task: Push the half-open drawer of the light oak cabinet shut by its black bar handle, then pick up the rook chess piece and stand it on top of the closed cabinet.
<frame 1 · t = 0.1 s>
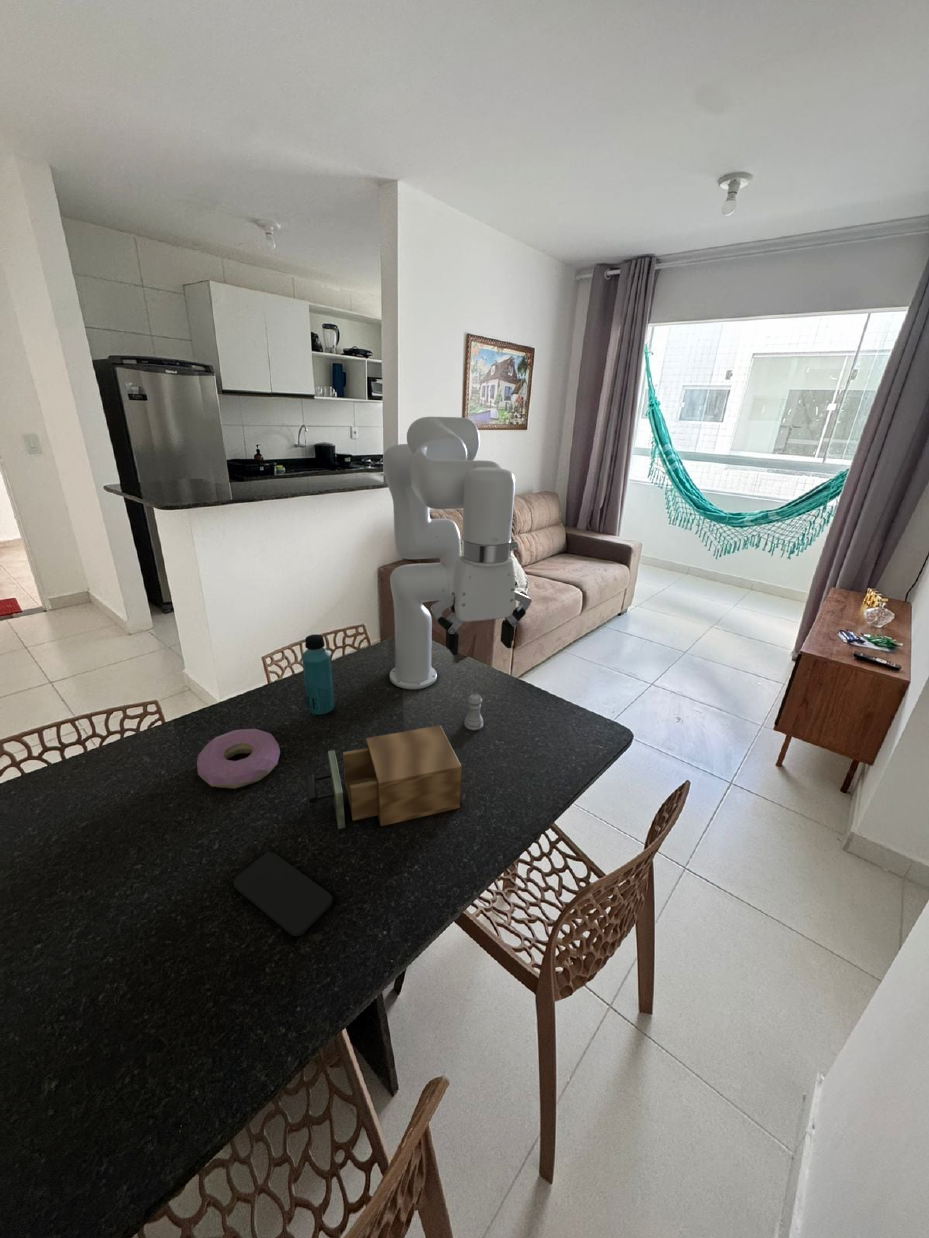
hand: (479, 648, 86), 31 cm above the table, tool pointing down, fingers open, 9 cm apart
cabinet: (412, 792, 98), on the table
drawer: (359, 783, 93), point 5 cm above the table, slide at 6.0 cm
beverage bottle: (321, 713, 121), on the table
rook chess piece: (473, 726, 119), on the table
donut: (241, 768, 103), on the table
phone: (282, 893, 77), on the table
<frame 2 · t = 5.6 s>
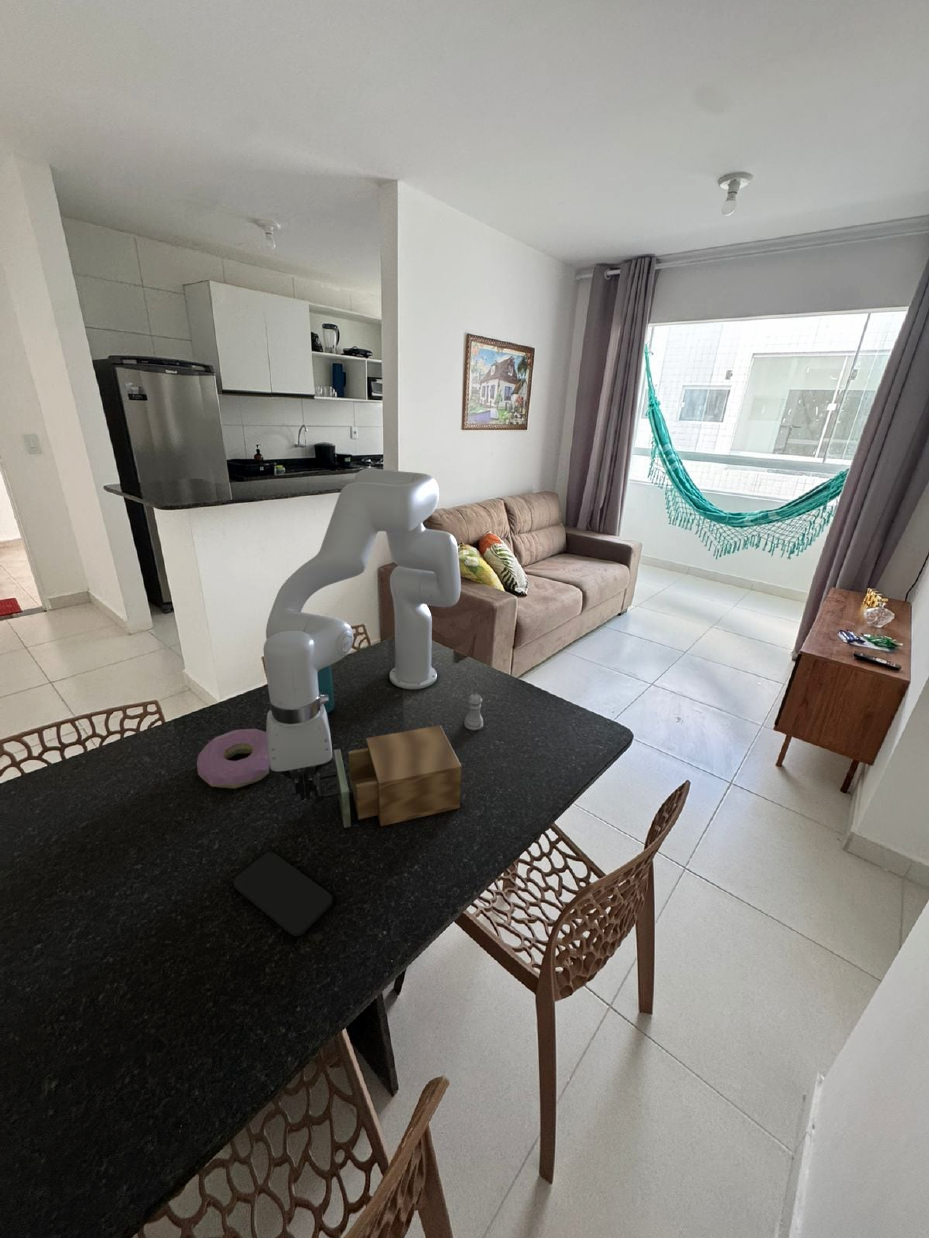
hand: (305, 794, 90), 5 cm above the table, tool pointing down, fingers closed
drawer: (364, 782, 93), point 5 cm above the table, slide at 5.0 cm, touching gripper
everything else where it was.
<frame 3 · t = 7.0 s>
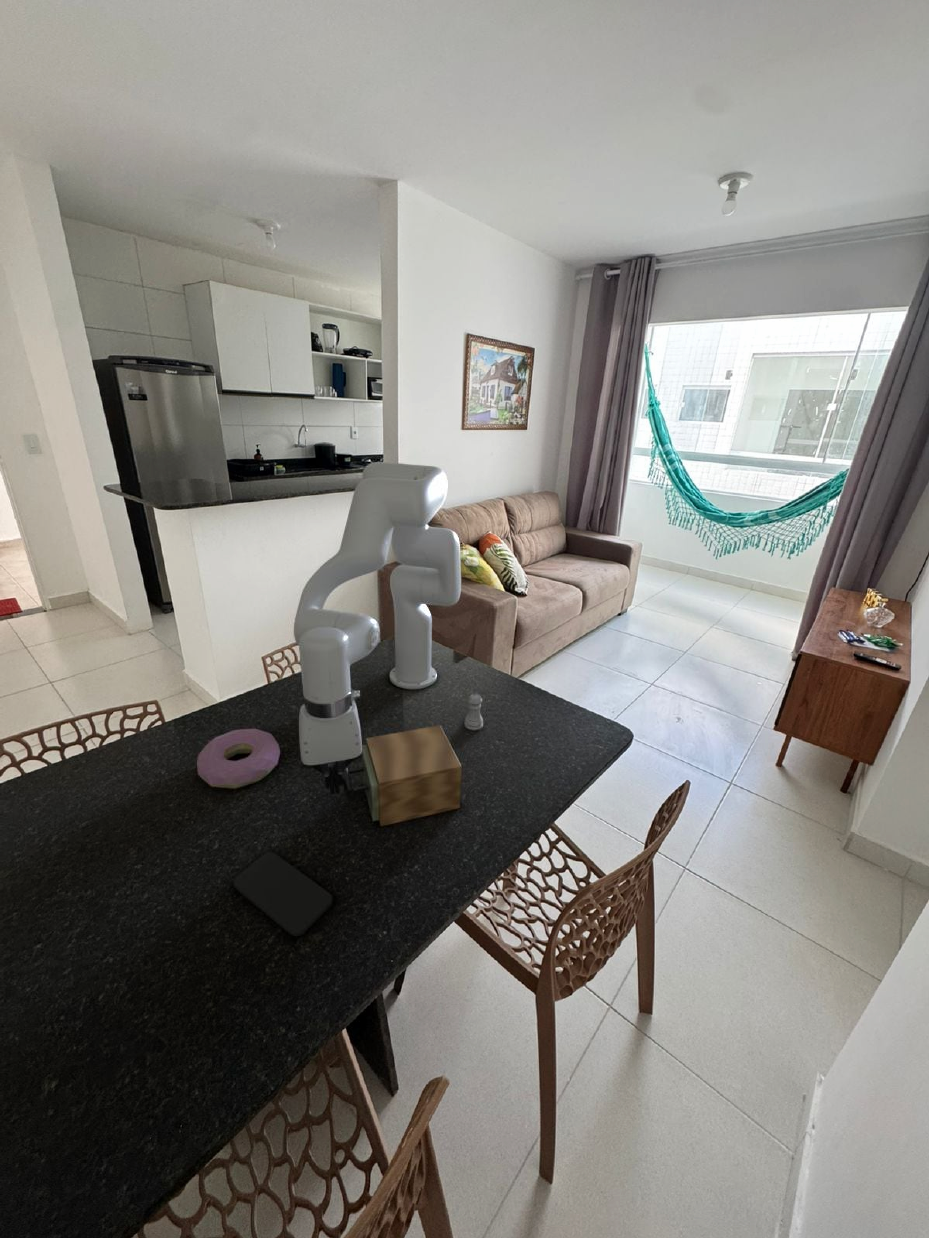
hand: (334, 788, 91), 5 cm above the table, tool pointing down, fingers closed
drawer: (391, 776, 95), point 5 cm above the table, slide at 0.0 cm, touching cabinet, gripper
everything else where it was.
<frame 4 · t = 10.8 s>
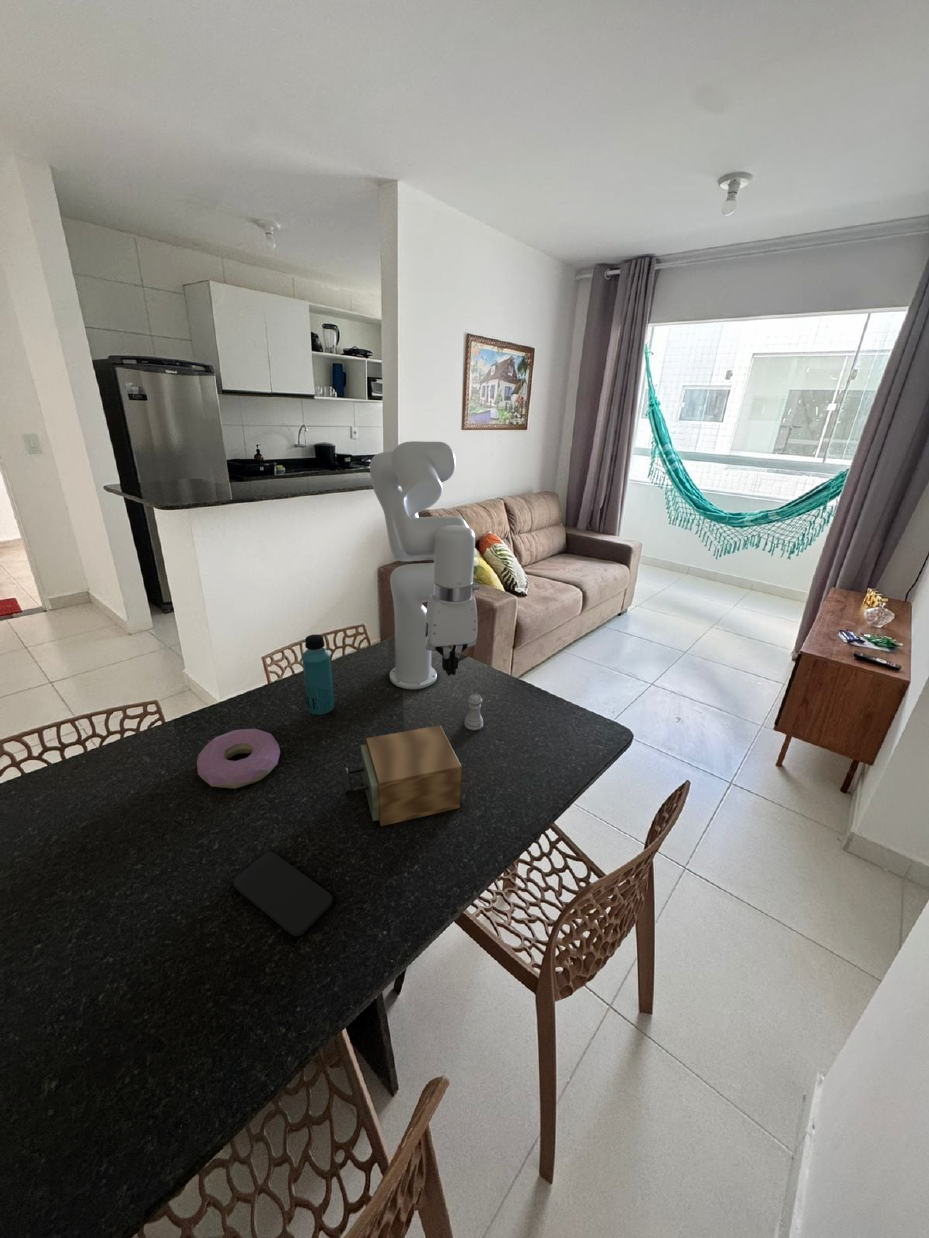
hand: (449, 671, 107), 17 cm above the table, tool pointing down, fingers closed
drawer: (391, 776, 95), point 5 cm above the table, slide at 0.0 cm, touching cabinet
everything else where it was.
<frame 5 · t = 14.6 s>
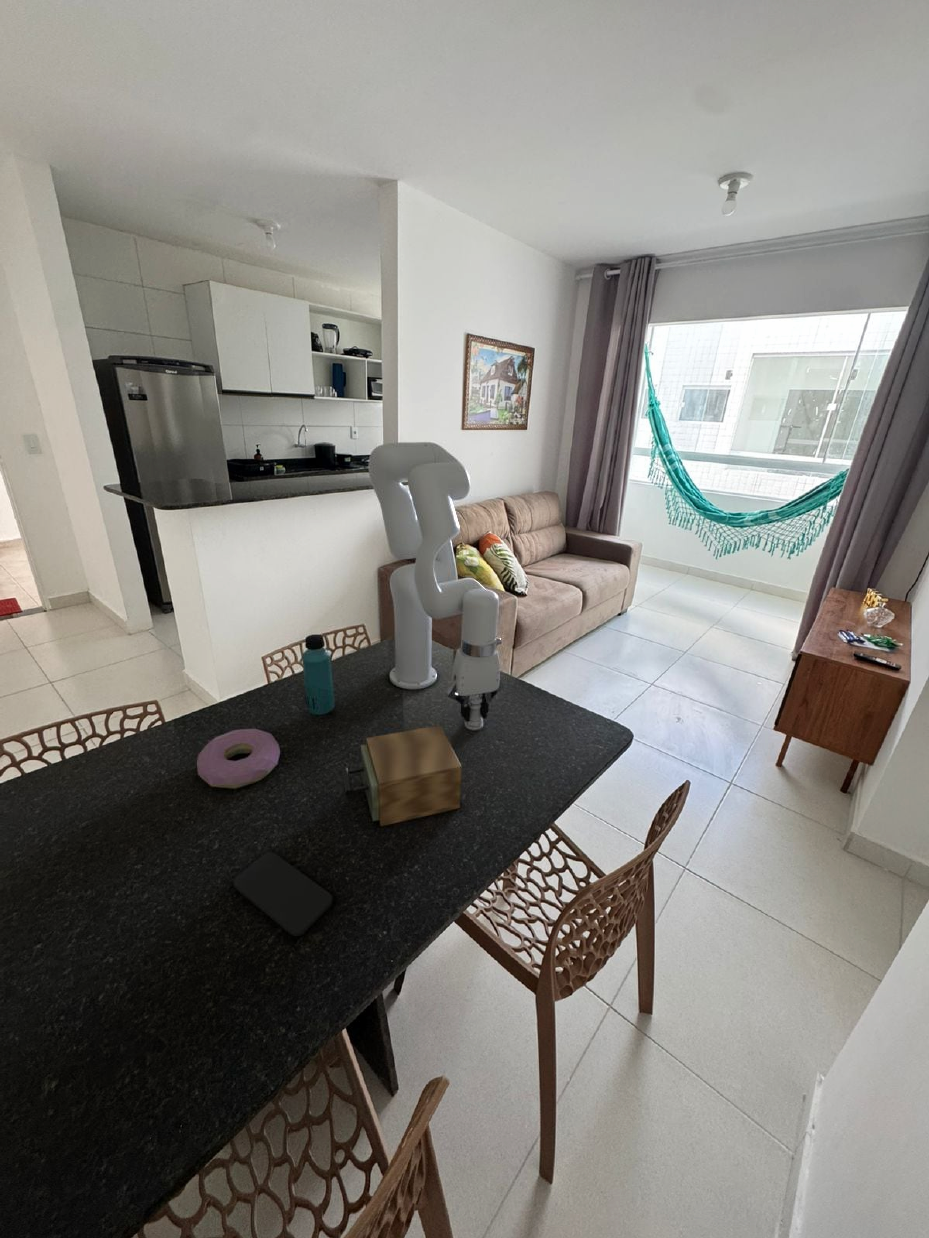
hand: (474, 716, 118), 3 cm above the table, tool pointing down, fingers closed on rook chess piece, 3 cm apart
rook chess piece: (473, 726, 119), on the table, touching gripper
everything else where it was.
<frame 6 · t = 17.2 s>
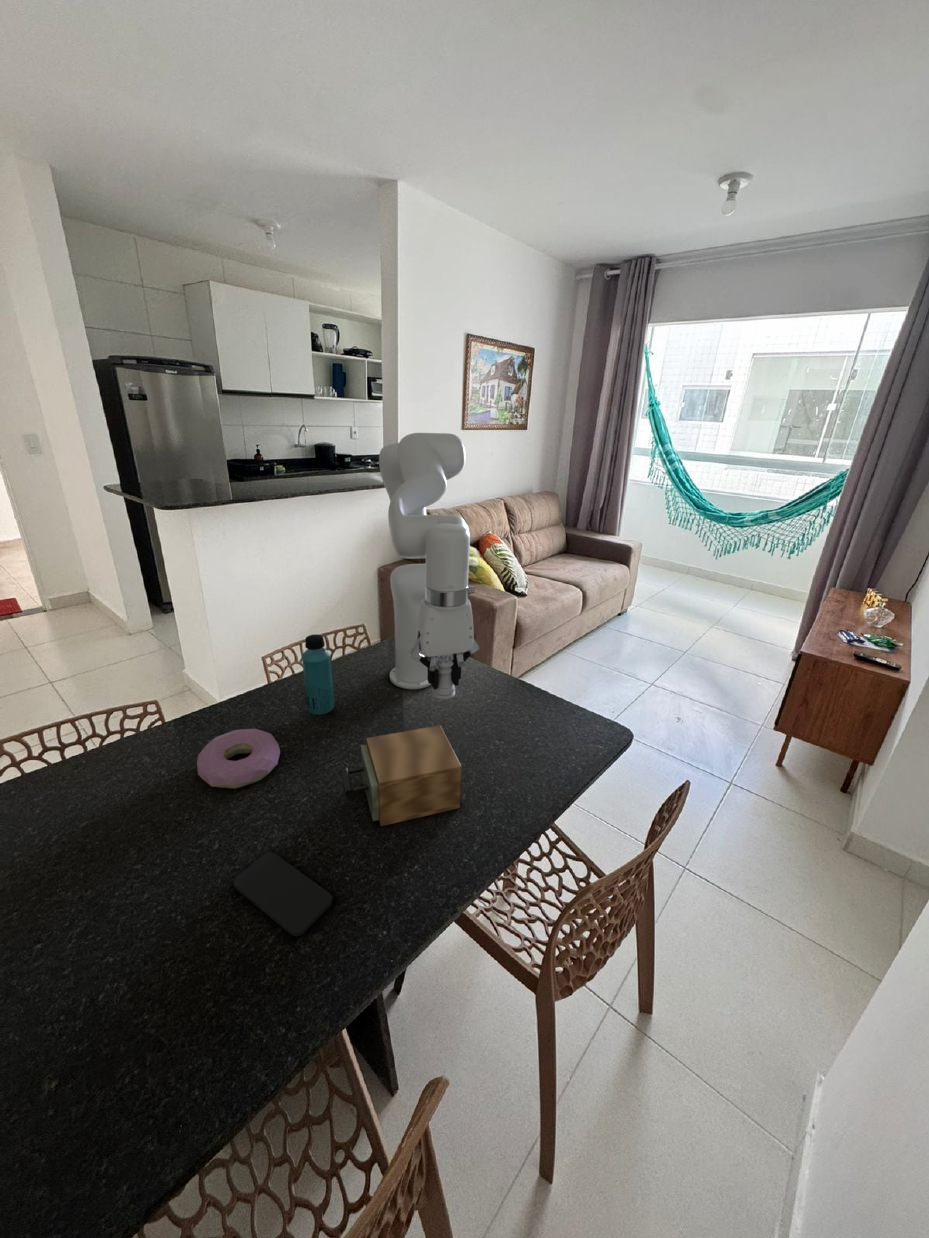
hand: (444, 683, 98), 19 cm above the table, tool pointing down, fingers closed on rook chess piece, 3 cm apart
rook chess piece: (443, 695, 99), point 17 cm above the table, touching gripper
everything else where it was.
when the fingers open (12 cm above the table, at t = 19.9 s): rook chess piece stays where it is, resting on cabinet.
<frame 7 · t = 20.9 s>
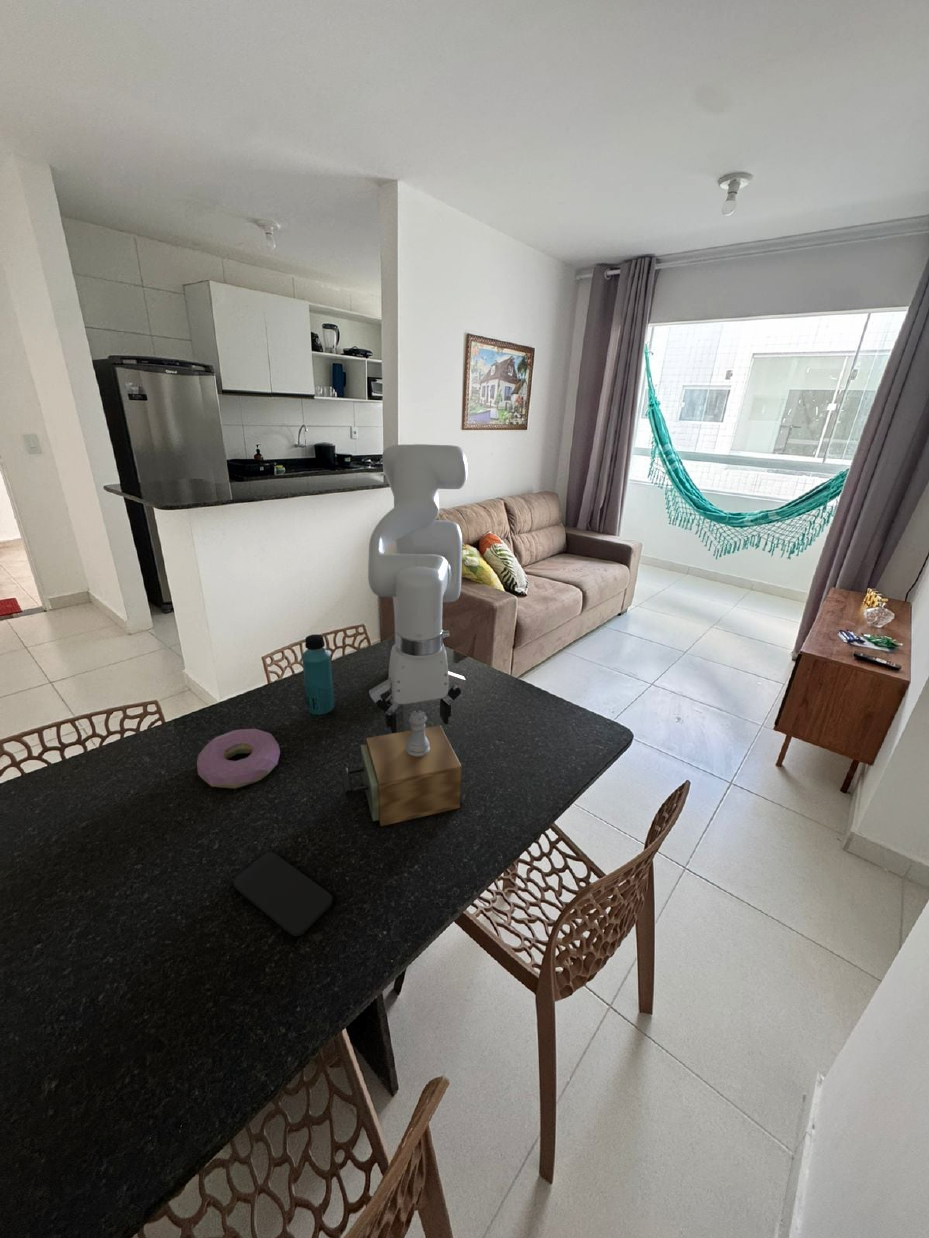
hand: (418, 724, 93), 15 cm above the table, tool pointing down, fingers open, 9 cm apart
rook chess piece: (417, 751, 95), point 10 cm above the table, touching cabinet
everything else where it was.
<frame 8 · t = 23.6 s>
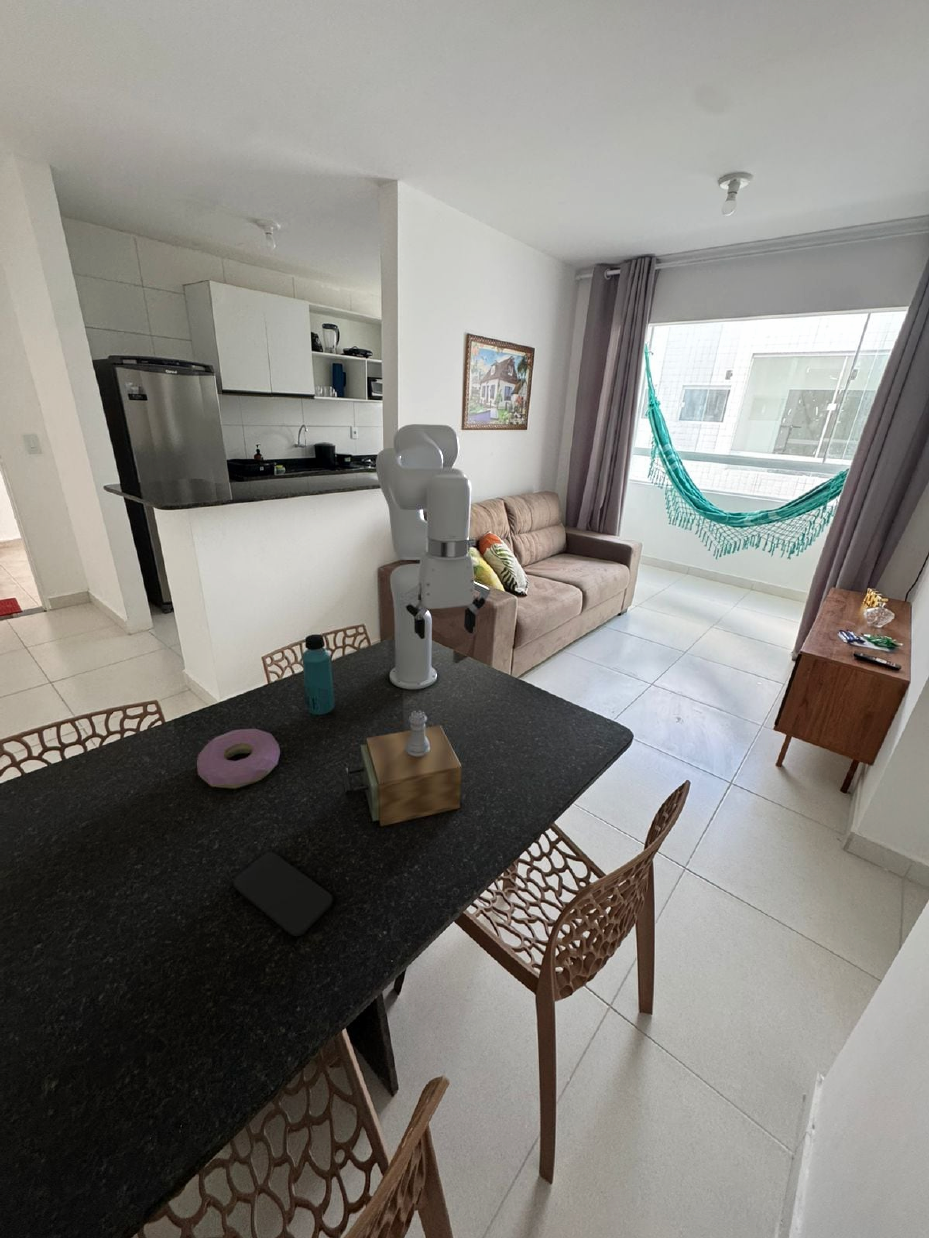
hand: (444, 633, 98), 28 cm above the table, tool pointing down, fingers open, 9 cm apart
nothing on the table moved.
at the end: drawer slide at 0.0 cm; rook chess piece inside the target area on the cabinet (1.0 cm from its centre), point 9.6 cm above the cabinet's base; rook chess piece tilted 0° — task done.
